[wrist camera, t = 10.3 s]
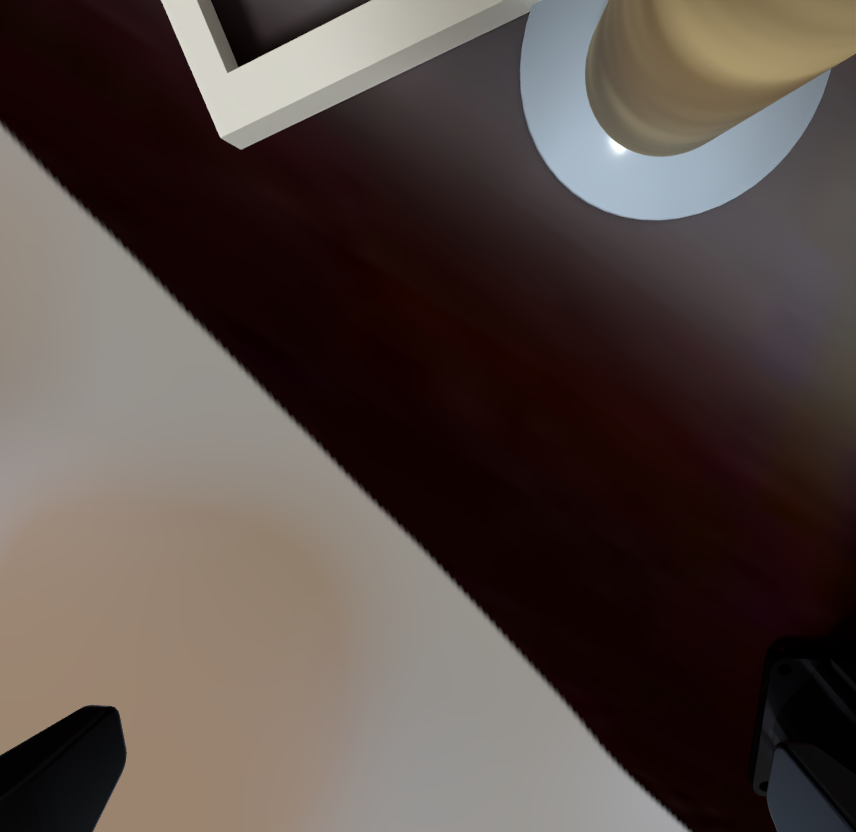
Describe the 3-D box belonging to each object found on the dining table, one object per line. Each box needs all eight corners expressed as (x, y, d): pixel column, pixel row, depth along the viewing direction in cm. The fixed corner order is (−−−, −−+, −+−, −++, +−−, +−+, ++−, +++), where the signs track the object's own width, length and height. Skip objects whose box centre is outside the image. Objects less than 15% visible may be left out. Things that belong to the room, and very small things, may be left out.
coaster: (803, 216, 17) (811, 214, 17) (516, 225, 18) (517, 223, 17) (852, -129, 15) (862, -141, 14) (522, -101, 16) (523, -111, 15)
